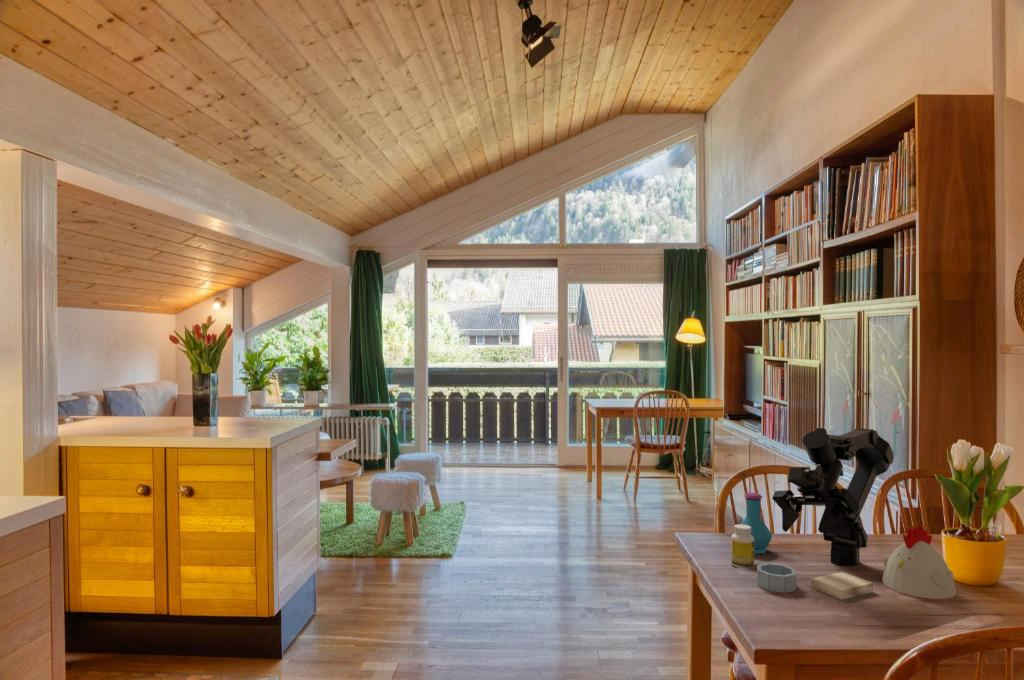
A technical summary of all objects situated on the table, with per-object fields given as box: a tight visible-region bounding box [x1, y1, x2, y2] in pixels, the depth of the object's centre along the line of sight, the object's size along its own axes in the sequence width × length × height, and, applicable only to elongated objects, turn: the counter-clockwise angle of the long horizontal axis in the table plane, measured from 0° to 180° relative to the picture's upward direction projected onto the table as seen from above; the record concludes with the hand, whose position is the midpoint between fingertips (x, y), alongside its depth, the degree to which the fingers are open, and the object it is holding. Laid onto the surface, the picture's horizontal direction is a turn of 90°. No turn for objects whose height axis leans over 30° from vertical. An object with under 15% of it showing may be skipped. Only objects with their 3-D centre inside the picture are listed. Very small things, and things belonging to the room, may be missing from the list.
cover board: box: [810, 571, 874, 601], centre depth 139 cm, size 10×8×2 cm
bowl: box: [756, 562, 797, 594], centre depth 142 cm, size 8×8×5 cm
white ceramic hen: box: [881, 525, 957, 601], centre depth 141 cm, size 14×14×15 cm
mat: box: [806, 584, 879, 603], centre depth 139 cm, size 10×10×2 cm
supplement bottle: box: [730, 523, 755, 569], centre depth 159 cm, size 5×5×10 cm
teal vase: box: [740, 492, 772, 554], centre depth 171 cm, size 9×9×15 cm
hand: (801, 530), depth 141 cm, fingers open, 9 cm apart
